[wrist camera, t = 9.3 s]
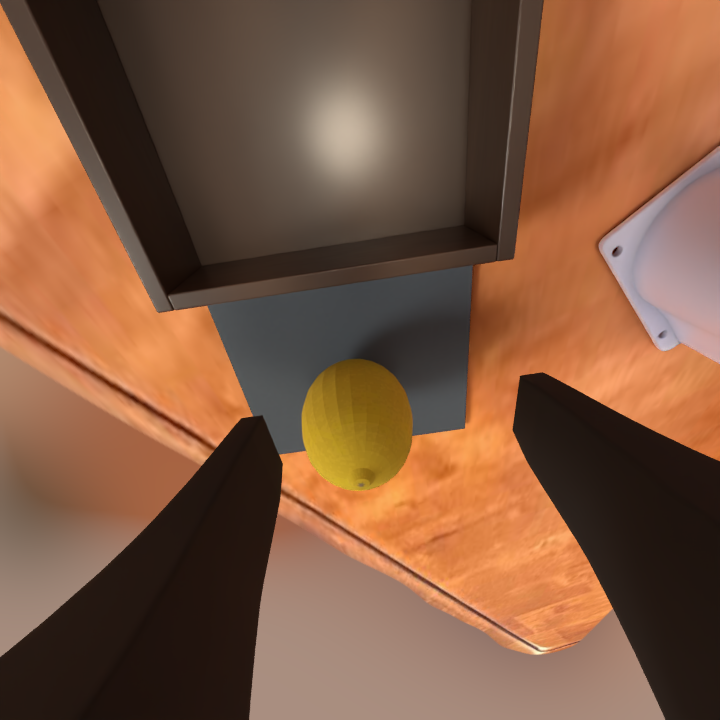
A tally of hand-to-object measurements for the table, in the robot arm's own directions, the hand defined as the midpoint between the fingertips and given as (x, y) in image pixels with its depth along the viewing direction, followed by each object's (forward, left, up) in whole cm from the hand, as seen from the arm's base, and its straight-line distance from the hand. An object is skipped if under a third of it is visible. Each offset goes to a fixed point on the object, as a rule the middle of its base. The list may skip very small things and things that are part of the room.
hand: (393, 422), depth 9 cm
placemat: (-3, +4, -10) cm, 11 cm away
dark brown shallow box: (+8, -4, -10) cm, 13 cm away
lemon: (-3, +4, -10) cm, 11 cm away
